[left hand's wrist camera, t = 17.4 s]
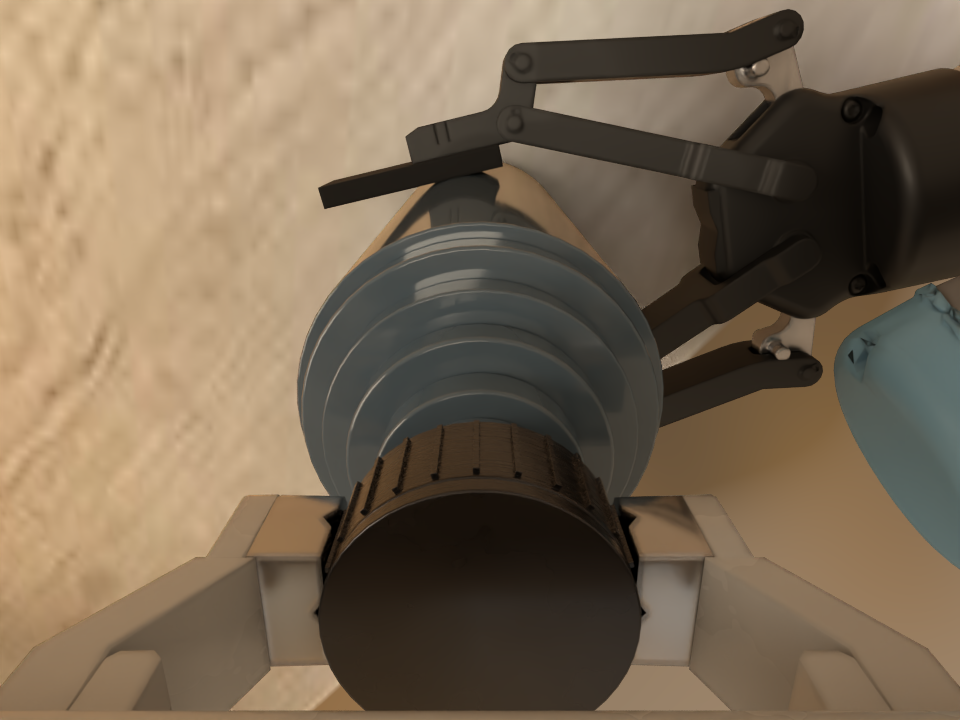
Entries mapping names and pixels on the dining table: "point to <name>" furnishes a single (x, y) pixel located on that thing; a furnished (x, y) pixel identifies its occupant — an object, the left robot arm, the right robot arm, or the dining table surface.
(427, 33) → the dining table surface
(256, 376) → the dining table surface
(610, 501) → the bottle
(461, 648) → the cap
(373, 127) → the dining table surface
